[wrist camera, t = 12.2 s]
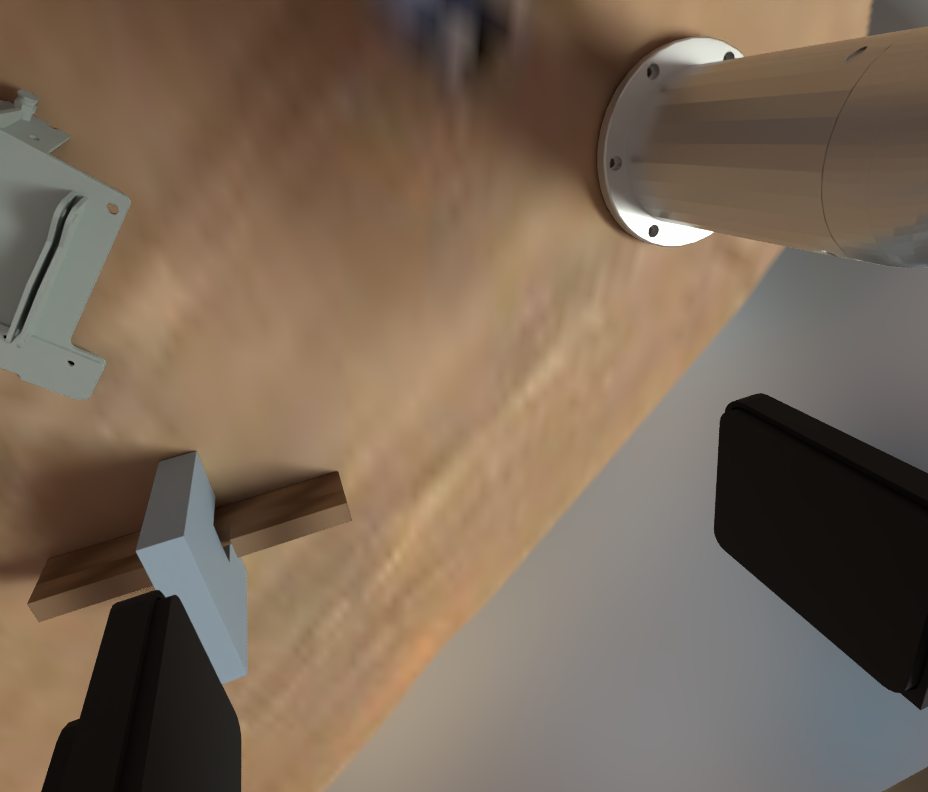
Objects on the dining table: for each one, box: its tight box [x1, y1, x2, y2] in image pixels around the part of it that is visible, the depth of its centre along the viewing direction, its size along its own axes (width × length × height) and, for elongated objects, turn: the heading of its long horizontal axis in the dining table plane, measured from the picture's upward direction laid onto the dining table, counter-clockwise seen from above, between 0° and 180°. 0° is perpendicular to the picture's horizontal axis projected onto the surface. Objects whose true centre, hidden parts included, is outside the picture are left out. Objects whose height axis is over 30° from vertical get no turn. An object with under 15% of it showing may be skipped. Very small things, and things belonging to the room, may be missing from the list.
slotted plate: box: [136, 451, 248, 684], centre depth 34 cm, size 10×2×9 cm, turn 9°
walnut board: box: [27, 472, 352, 622], centre depth 37 cm, size 18×1×4 cm, turn 99°
